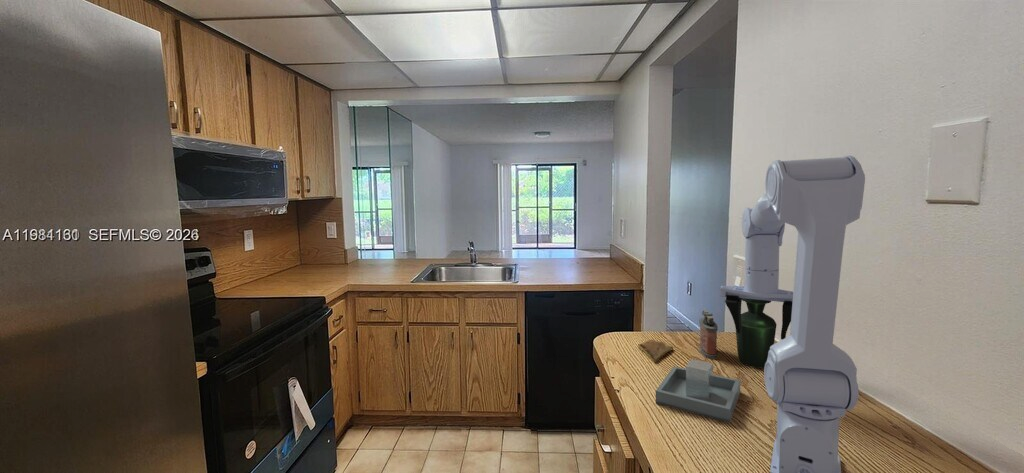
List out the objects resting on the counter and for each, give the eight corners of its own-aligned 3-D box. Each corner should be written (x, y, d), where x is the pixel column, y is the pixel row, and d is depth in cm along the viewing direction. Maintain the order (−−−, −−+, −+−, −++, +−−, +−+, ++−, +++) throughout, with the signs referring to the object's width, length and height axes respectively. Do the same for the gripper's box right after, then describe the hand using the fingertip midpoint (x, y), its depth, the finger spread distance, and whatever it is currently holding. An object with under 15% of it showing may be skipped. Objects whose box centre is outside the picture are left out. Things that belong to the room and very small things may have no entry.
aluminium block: (708, 401, 76) (708, 371, 75) (686, 396, 78) (685, 366, 78) (712, 392, 79) (712, 363, 79) (690, 387, 82) (690, 359, 81)
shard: (654, 365, 94) (654, 358, 94) (624, 357, 100) (624, 350, 100) (674, 351, 102) (674, 344, 102) (645, 344, 107) (645, 337, 107)
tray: (729, 423, 70) (729, 409, 70) (655, 403, 77) (655, 390, 77) (740, 392, 80) (740, 380, 80) (674, 377, 87) (673, 366, 87)
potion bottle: (768, 373, 87) (770, 291, 85) (728, 362, 93) (729, 286, 91) (780, 361, 92) (782, 284, 90) (742, 352, 98) (743, 279, 96)
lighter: (720, 359, 95) (720, 318, 94) (704, 358, 96) (705, 317, 95) (710, 346, 103) (711, 308, 102) (696, 345, 104) (696, 307, 103)
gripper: (807, 267, 79) (805, 334, 80) (724, 262, 88) (723, 323, 89) (806, 274, 73) (804, 346, 75) (718, 268, 82) (717, 333, 83)
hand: (760, 334), depth 82 cm, fingers open, 7 cm apart
